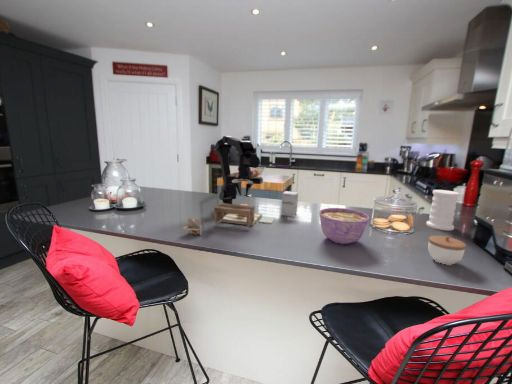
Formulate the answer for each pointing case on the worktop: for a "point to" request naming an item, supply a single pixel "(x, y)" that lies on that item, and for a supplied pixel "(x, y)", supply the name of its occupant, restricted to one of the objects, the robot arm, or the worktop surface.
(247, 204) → the block
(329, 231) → the bowl of food
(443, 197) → the decorative container
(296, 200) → the supplement box
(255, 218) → the board
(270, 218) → the tile
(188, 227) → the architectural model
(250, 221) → the brown wooden u-shape
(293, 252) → the worktop surface
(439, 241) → the lidded jar
